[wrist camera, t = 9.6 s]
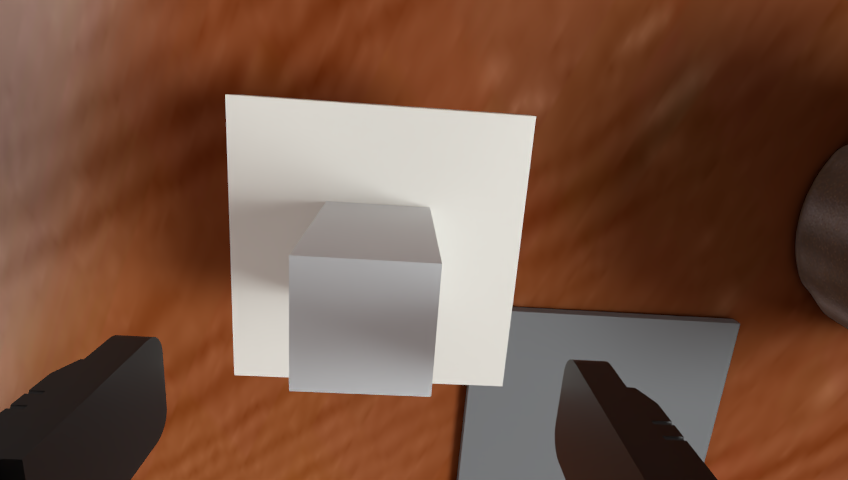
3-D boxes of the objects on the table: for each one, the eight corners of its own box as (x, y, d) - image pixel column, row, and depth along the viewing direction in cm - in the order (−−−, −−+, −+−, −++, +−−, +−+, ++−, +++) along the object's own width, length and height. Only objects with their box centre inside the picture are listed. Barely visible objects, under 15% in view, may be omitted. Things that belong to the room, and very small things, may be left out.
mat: (733, 319, 28) (740, 323, 28) (679, 529, 32) (684, 537, 32) (475, 304, 28) (477, 309, 27) (452, 521, 31) (453, 529, 31)
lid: (529, 114, 18) (602, 130, 11) (497, 372, 21) (542, 507, 14) (235, 94, 18) (129, 97, 11) (242, 361, 20) (162, 496, 14)
